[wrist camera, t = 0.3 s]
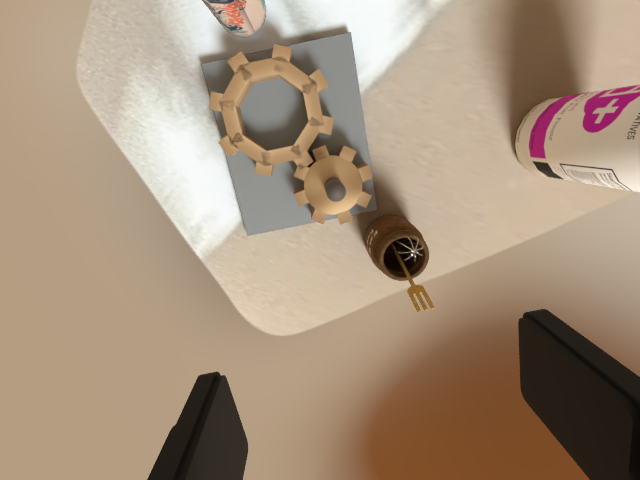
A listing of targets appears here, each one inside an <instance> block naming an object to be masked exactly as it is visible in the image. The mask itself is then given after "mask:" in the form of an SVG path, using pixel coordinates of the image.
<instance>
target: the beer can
mask: <svg viewBox="0 0 640 480" xmlns="http://www.w3.org/2000/svg"><path fill="white" fill-rule="evenodd" d="M202 1H203V2H204V3H205V4H206V6H207V7H208V8H209V10H210V11H211V12H212V13H213V15H214V16H215V17H216V19H217V20H218V21H219V22H220V24H221V25H222V26H223V27H224V28H225V29H226V30H227V31H228V32H229V33H231V34H232V35H234V36H238V37H248V36H251V35H253V34H255V33H256V32H257V31H258V30H259V29H260V28H261V27H262V25H263V23H264V20H265V16H266V5H265V1H264V0H202Z"/></svg>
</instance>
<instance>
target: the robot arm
mask: <svg viewBox="0 0 640 480" xmlns="http://www.w3.org/2000/svg"><path fill="white" fill-rule="evenodd" d="M518 324H519V355H520V384H521V392H522V395H523V397H524V399H525V401H526V402H527V403H528V405H529V406H530V407H531V408H532V410H533V411H534V412H535V413H536V414H537V416H538V417H539V418H540V419H541V420H542V422H543V423H544V424H545V425H546V426H547V428H548V429H549V430H550V431H551V433H552V434H553V435H554V436H555V437H556V439H557V440H558V441H559V442H560V444H561V445H562V446H563V447H564V449H565V450H566V451H567V452H568V453H569V455H570V456H571V457H572V458H573V459H574V461H576V463H577V464H578V466H579V467H580V468H581V469H582V470H583V472H584V473H585V474H586V475H587V476H588V478H589V479H590V480H640V377H639V376H637V375H636V374H635V373H633V372H632V371H630V370H629V369H628V368H626V367H625V366H624V365H622V364H621V363H619V362H618V361H617V360H615V359H614V358H613V357H611V356H610V355H608V354H607V353H606V352H604V351H603V350H602V349H600V348H599V347H597V346H596V345H594V344H593V343H592V342H590V341H589V340H588V339H586V338H585V337H584V336H582V335H581V334H579V333H578V332H577V331H575V330H574V329H572V328H571V327H570V326H568V325H567V324H566V323H564V322H563V321H562V320H560V319H559V318H557V317H556V316H555V315H553V314H552V313H550V312H549V311H548V310H546V309H541V310H536V311H530V312H526V313H524V315H523V318H520V319H519V323H518ZM247 454H248V442H247V438H246V435H245V432H244V430H243V426H242V423H241V420H240V417H239V414H238V411H237V409H236V405H235V402H234V399H233V396H232V393H231V391H230V387H229V384H228V381H227V379H226V377H225V376H224V375H223V376H221V375H220V374H219V372H214V373H208V374H203V375H200V376H198V378H197V380H196V383H195V385H194V387H193V389H192V391H191V393H190V395H189V398H188V400H187V402H186V404H185V406H184V408H183V411H182V413H181V415H180V417H179V419H178V421H177V424H176V425H175V426H173V428H172V429H171V431H170V433H169V435H168V437H167V439H166V441H165V443H164V445H163V447H162V450H161V452H160V454H159V456H158V458H157V460H156V462H155V464H154V467H153V469H152V471H151V473H150V475H149V477H148V479H147V480H243V475H244V470H245V464H246V460H247Z"/></svg>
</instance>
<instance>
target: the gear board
mask: <svg viewBox="0 0 640 480" xmlns="http://www.w3.org/2000/svg"><path fill="white" fill-rule="evenodd" d="M286 47H290V48H291V49H292V60H291V64H293V65H294V66H295V67H297V68H298V69H299V70H301V71H302V72H303V73H305V74H306V75H307V76H310V75H311V74H312V73H314V72H315V71H316V70H318V69H320V71H321V73H322V74H323V76H324V78H325V79H326V81H327V83H328V87H327V88H326V89H325V90H323V91H322V92H320V93H319V94H318V95H319V100H320V106H321V111H322V115H323V116H327V117H332V118H334V122H333V127H332V132H331V135H327V134H322V133H318V135H317V136H316V138H315V139H314V141H313V143H312V144H311V146H310V147H309V149H308V150H307V151H308V153H309V154H310V156H311V157H312V159H313V161H315V160H316V159H315V156H314V153H313V151H312V149H314V148H316V147H319V146H321V145H324V144H325V145H326V148H327V151H328V153H329V155H337V154H338V152H339V149H340V147H341V145H344V146H346V147H349V148H351V149H353V150H355V151H356V154H355V156H354V158H353V160H352V163H353V164H354V165H355V166H358V165H361V164H364V163H366V164H368V165H369V167H370V170H371V164H370V158H369V151H368V144H367V138H366V131H365V124H364V118H363V111H362V104H361V97H360V91H359V84H358V77H357V71H356V64H355V57H354V51H353V44H352V37H351V32H350V33H345V34H340V35H335V36H331V37H326V38H321V39H317V40H312V41H307V42H302V43H298V44H293V45H288V46H286ZM272 54H273V49H269V50H265V51H260V52H255V53H251V54H246V55H245V56H246V58H247V59H248V61H249V62H255V61H260V60H265V59H269V58H272ZM230 59H231V58H227V59H222V60H218V61H213V62H208V63H203V64H201V65H202V69H203V73H204V76H205V80H206V84H207V87H208V91H209V95H211V91H212V92H217V93H221V94H224V92H225V91H226V89H227V87H228V85H229V83H230V82H231V80H232V78H233V76H234V74H235V72H234V71H233V69H232V68H231V66H230V65H229V63H228V62H227V61H228V60H230ZM240 109H241V113H242V117H243V122H244V126H245V130H246V134H247V136H249V137H250V138H252V139H253V140H255V141H256V142H258V143H259V144H261V145H262V146H264V147H265V148H267V149H268V150H273V149H277V148H282V147H287V146H292V145H294V144H295V142H296V141H297V139H298V138H299V136H300V134H301V133H302V131H303V130H304V128H305V126H306V125H307V123H308V122H309V121H308V116H307V111H306V106H305V101H304V96H303V94H302V93H300V92H299V91H298V90H296V89H295V88H294V87H292V86H291V85H289V84H288V83H287V82H285V81H284V80H282V79H281V78H278V79H274V80H269V81H264V82H259V83H254V84H253V86H252V88H251V89H250V91H249V93H248V95H247V96H246V98H245V100H244V102H243V103H242V105H241V107H240ZM214 113H215V117H216V121H217V125H218V128H219V132H220V136H221V139H223V138H224V137H226V136H227V135H228V134H227V130H226V126H225V123H224V119H223V115H222V112H219V111H214ZM225 154H226V152H225ZM226 158H227V162H228V165H229V169H230V173H231V177H232V180H233V184H234V188H235V191H236V195H237V199H238V203H239V206H240V210H241V214H242V218H243V221H244V225H245V229H246V232H247V236H249V235H254V234H259V233H264V232H269V231H274V230H279V229H284V228H289V227H294V226H299V225H304V224H310V223H315V222H317V221H314V220H312V219H311V213H312V210H313V208H314V207H313V206H312V205H311V204H310V203H307V204H304V205H302V206H298V204H297V201H296V199H295V196H294V191H295V190H297V189H300V188H302V187H304V180H301V179H299V178H297V177H294V174H295V171H296V169H297V167H298V166H297V165H296V163H295V162H294V160H293V161H288V162H283V163H278V164H275V166H274V172H273V175H272V176H266V175H261V174H256V173H255V170H256V163H257V161H255V160H254V159H252V158H251V157H249V156H248V155H246V154H245V153H243V152H242V151H240V150H239V151H238V152H236V153H235V154H234V155H230V156H228V155H227V154H226ZM312 163H313V162H312ZM312 163H311V164H312ZM311 164H309V166H310V165H311ZM371 173H372V171H371ZM362 190H364V191H367V192H368V193H369V194H370V195H372V196H371V199H370V201H369V203H368V205H367V207H366V208H365V207H363V206H360V205H358V204H355V205H354V206H353V207H352V208H351V209H349V211H350V213H351V215H355V214H360V213H365V212H370V211H375V210H377V205H376V198H375V191H374V184H373V178H371V179H369V180H366V181H364V182H362ZM335 218H338V217H337V214H336V215H330V214H328V215H327V217H326V219H325V220H330V219H335Z"/></svg>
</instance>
